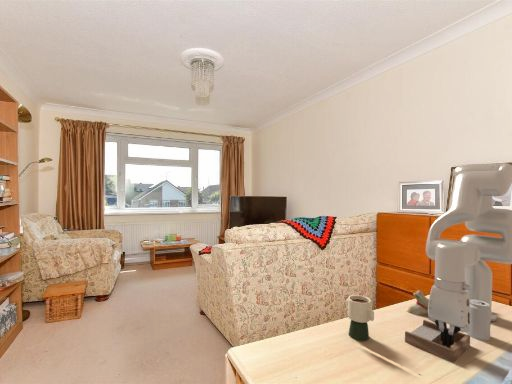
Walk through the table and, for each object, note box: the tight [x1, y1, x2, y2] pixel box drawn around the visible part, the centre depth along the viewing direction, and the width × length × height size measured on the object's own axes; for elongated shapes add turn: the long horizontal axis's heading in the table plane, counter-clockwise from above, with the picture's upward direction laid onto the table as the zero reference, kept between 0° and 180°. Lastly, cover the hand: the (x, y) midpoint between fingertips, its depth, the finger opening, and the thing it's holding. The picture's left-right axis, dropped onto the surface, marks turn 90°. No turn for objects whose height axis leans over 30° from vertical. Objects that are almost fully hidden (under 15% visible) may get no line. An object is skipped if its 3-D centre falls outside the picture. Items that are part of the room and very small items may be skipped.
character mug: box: [345, 294, 375, 342], centre depth 91 cm, size 11×7×13 cm, turn 29°
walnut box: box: [404, 319, 471, 363], centre depth 87 cm, size 14×13×4 cm
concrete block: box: [410, 324, 441, 343], centre depth 90 cm, size 10×6×2 cm, turn 128°
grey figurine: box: [406, 289, 429, 317], centre depth 109 cm, size 6×8×10 cm
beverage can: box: [465, 299, 492, 342], centre depth 93 cm, size 6×6×12 cm
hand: (447, 345), depth 85 cm, fingers closed
